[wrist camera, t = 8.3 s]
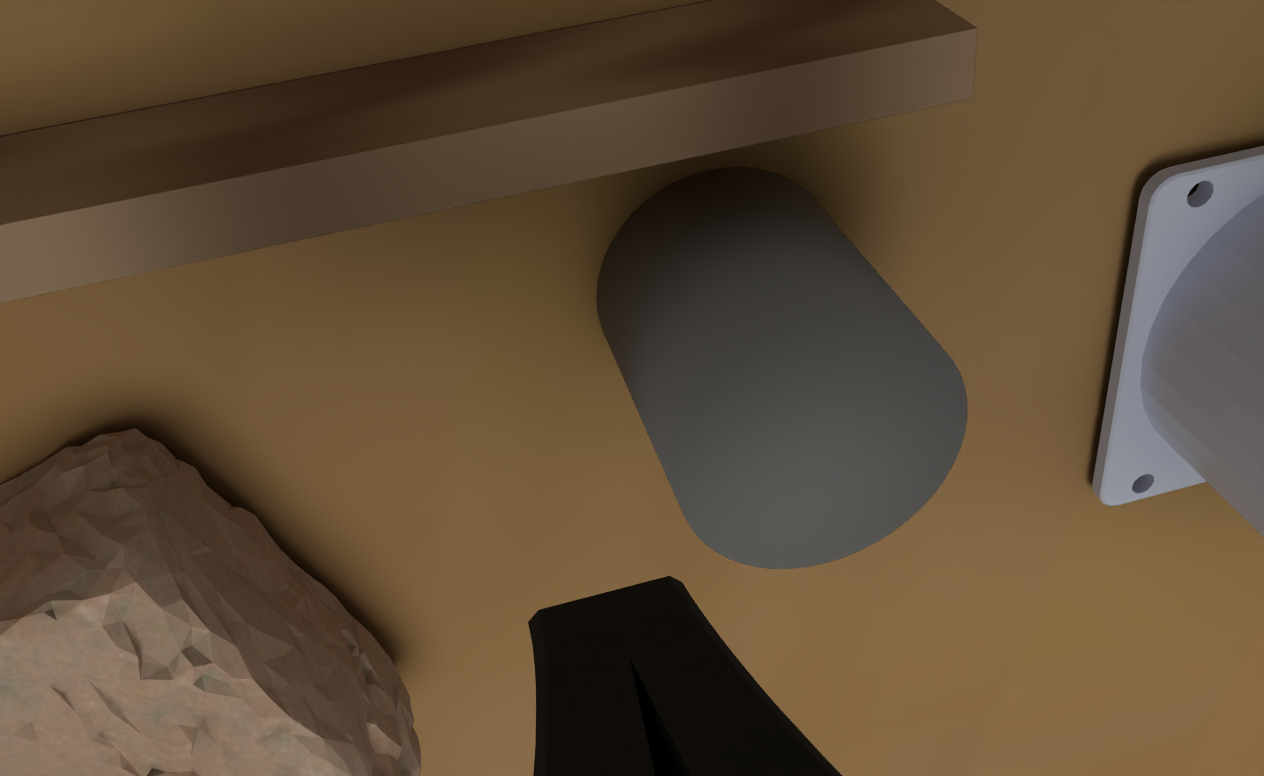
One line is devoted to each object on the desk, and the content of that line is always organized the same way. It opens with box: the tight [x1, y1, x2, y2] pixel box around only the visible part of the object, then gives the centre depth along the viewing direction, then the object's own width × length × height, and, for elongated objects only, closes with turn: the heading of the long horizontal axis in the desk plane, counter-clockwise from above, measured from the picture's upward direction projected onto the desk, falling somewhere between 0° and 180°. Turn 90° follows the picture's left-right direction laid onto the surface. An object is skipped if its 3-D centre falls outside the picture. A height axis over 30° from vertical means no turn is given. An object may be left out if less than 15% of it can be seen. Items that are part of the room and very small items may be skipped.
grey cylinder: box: [597, 167, 967, 569], centre depth 19 cm, size 4×4×5 cm
